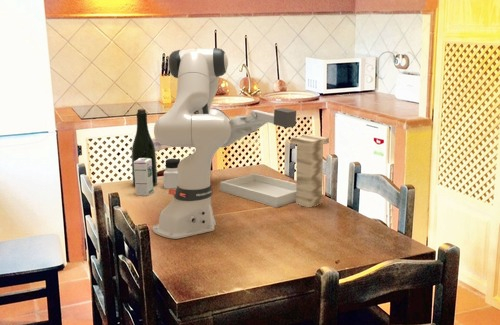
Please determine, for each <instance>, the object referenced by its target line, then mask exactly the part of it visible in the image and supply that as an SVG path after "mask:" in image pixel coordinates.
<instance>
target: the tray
mask: <svg viewBox="0 0 500 325" xmlns="http://www.w3.org/2000/svg"><path fill="white" fill-rule="evenodd" d="M219 183H220V184H219V188H220V190H219V192H223V193H225V194H228V195H229V194H230V195H233V196H236V197H238V198H242V199H245V200H249V201H252V202H253V201H254V202H256V203H260V204H263V205H267V206H270V207H273V208H279V207H283V206H286V205H288V204H292V203H296V183H295V182H291V181H287V180H284V179H279V178H276V177H271V176H268V175H264V174H259V173H256V172H254V173H253V172H252V173H249V174H245V175H242V176H239V177H238V176H237V177H235V178H229V179H227V180H222V181H220V182H219Z"/></svg>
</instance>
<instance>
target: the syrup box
mask: <svg viewBox="0 0 500 325" xmlns="http://www.w3.org/2000/svg"><path fill="white" fill-rule="evenodd" d="M134 174H135V186H134V187H135V195H136V196H144V195H147V196H150V195H151V194H152V193H154V186H153V173H152V159H151V158H139V159H137V160H136V161H134ZM147 196H146V197H147Z"/></svg>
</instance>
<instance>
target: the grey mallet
mask: <svg viewBox="0 0 500 325" xmlns="http://www.w3.org/2000/svg"><path fill="white" fill-rule="evenodd" d="M273 111H274V112H273V113H272V112H271V113H270V112H266V111H262V110H258V109H253V110H250V115H251V114H253V113H257V117H256V118H254V119H257V120H261V121H265V122H267V123H270V124H273V125H275V126H278V127H281V128H287V129H288V128H293V127H296V125H297V124H296V122H297V110H293V109H288V108H285V107H281V108H275V109H274V110H273Z"/></svg>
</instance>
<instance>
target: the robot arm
mask: <svg viewBox="0 0 500 325" xmlns="http://www.w3.org/2000/svg"><path fill="white" fill-rule="evenodd" d="M167 65H168V66H167V67H168V70H169V72H170V75H171V76H172V77H173V78H175V79H177V89H176V96H175V100H174V103H173V104H172V106H171V107H170V109H169V110H168V111H166V112H165V113H164V114H162V115H161V116H159V117H158V118H157V119H156V121H155V124H154V127H153V134H154V138H155V139H156V141H157V142H158V144H160V145H162V146H166V147H175V148H177V147H178V148H179V147H180V148H184V147H185V148H187V147H189V148H191V147H192V148H195V150H194V152H193V153H192V154H189V155H188V156H185V157H184V158H182V159H181V160H180V162H179V164H178V186H177V188H176V189H168V195H172V196H173V197H174V198H173V199H172V200H171V201H170V202H169V203H168V204H167V205H166V206H165V207H164V208H163V209H162V210H161V212H160V213H159V218H158V224H156V225H153V226H152V229H151V230H152V232H153V233H154V234H156V235H158V236H161V237H164V238H167V239H173V240H174V239H176V240H177V239H182V238H186V237H191V236H196V235H200V234H204V233H209V232H213V231H215V228H216V226H217V225H216V224H217V222H216V220H215V215H214V212H213V207H212V206H213V204H212V195H213V189H212V184H211V168H212V161H213V159H214V157H215V155H216V153H217V152H218V151H219V149H223V148H227V147H230V146H231V145H233V144H235V143H236V142H237V141H239V140H241V139H243V138H244V137H247V136H248V135H249V134H252V133H255V132H258V130H259V129H260V128H261V127H263V126H265V125H266V124H268V122H265V121H261V120H257V119H254V118H256V117H257V113H253V114H251V113H250V114H249V115H244V116H243V115H242V116H241V115H237V116H235V117H232V118H231V119H230V118H229V117H228V115H227V114H226V113H225V112H224V111H222V110H221V109H219V108H215V107H213V108H211V105H212V103H213V101H214V98H215V97H216V94H217V93H218V92H217V91H218V89H219V84H220V77H222V76H224V75H225V74H226V73H227V70H228V66H229V60H228V56H227V54H226V52H225V51H224V50H223V49H222V48H217V47H214V48H197V47H195V48H194V47H193V48H186V49H183V50H181V49H177V50H174V51H172V52H171V53H170V54H169V56H168V61H167Z"/></svg>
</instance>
